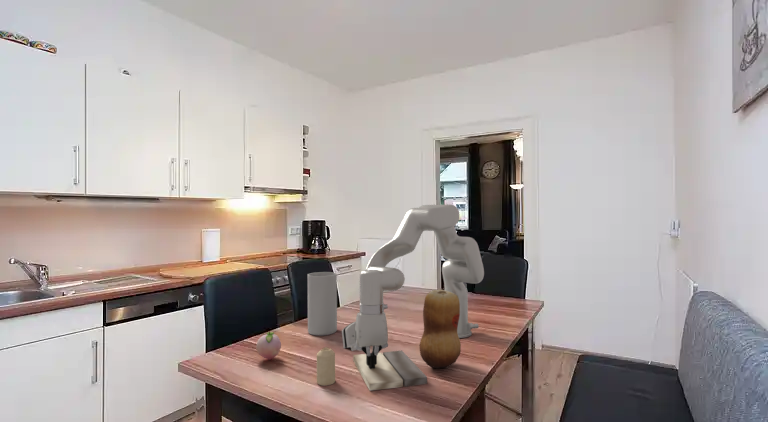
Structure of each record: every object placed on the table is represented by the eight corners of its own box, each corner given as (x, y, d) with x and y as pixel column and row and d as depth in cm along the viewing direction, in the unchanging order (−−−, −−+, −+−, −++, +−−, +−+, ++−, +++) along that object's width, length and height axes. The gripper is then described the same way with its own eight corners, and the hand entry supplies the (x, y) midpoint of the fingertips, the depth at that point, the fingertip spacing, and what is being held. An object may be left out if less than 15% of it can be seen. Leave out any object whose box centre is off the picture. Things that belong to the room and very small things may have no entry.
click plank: (381, 358, 137) (381, 352, 137) (402, 386, 114) (402, 380, 114) (353, 360, 134) (353, 355, 134) (369, 390, 111) (369, 383, 111)
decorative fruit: (255, 357, 139) (255, 329, 140) (279, 354, 142) (279, 326, 142) (257, 366, 131) (257, 336, 131) (282, 363, 134) (282, 333, 134)
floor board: (401, 356, 139) (401, 350, 139) (427, 383, 116) (427, 376, 116) (383, 358, 137) (383, 352, 137) (404, 386, 114) (404, 379, 114)
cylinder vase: (302, 334, 166) (301, 275, 166) (317, 326, 178) (317, 271, 178) (327, 337, 161) (327, 277, 162) (342, 329, 173) (341, 272, 173)
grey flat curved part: (351, 351, 145) (345, 324, 147) (344, 352, 148) (338, 326, 150) (383, 340, 156) (377, 315, 159) (375, 342, 160) (369, 317, 162)
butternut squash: (451, 378, 120) (450, 296, 120) (412, 369, 127) (412, 292, 127) (467, 363, 131) (466, 289, 132) (431, 356, 139) (430, 285, 139)
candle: (317, 378, 120) (317, 346, 121) (335, 377, 121) (335, 345, 121) (315, 386, 115) (315, 352, 115) (334, 385, 115) (334, 351, 116)
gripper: (390, 305, 130) (390, 360, 129) (346, 307, 126) (346, 365, 125) (397, 310, 122) (397, 369, 122) (350, 313, 118) (350, 374, 118)
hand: (371, 367), depth 124 cm, fingers closed
